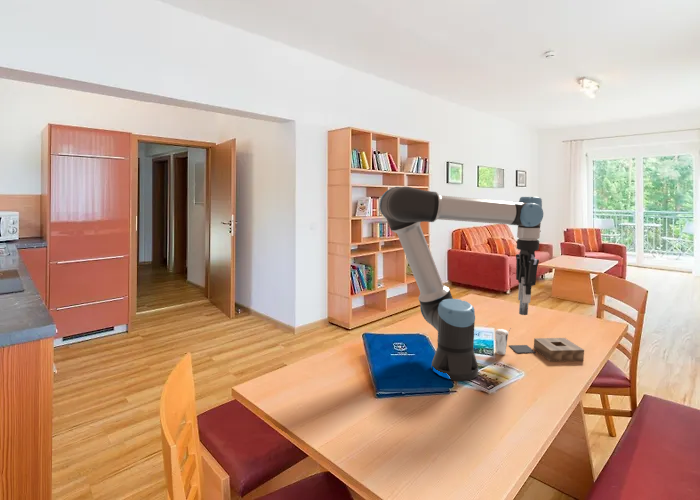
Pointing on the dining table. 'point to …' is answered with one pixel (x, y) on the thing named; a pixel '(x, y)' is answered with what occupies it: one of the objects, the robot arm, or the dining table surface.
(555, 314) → the dining table surface
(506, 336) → the milkshake
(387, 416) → the dining table surface
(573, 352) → the hole block
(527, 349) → the mat
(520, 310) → the pin
